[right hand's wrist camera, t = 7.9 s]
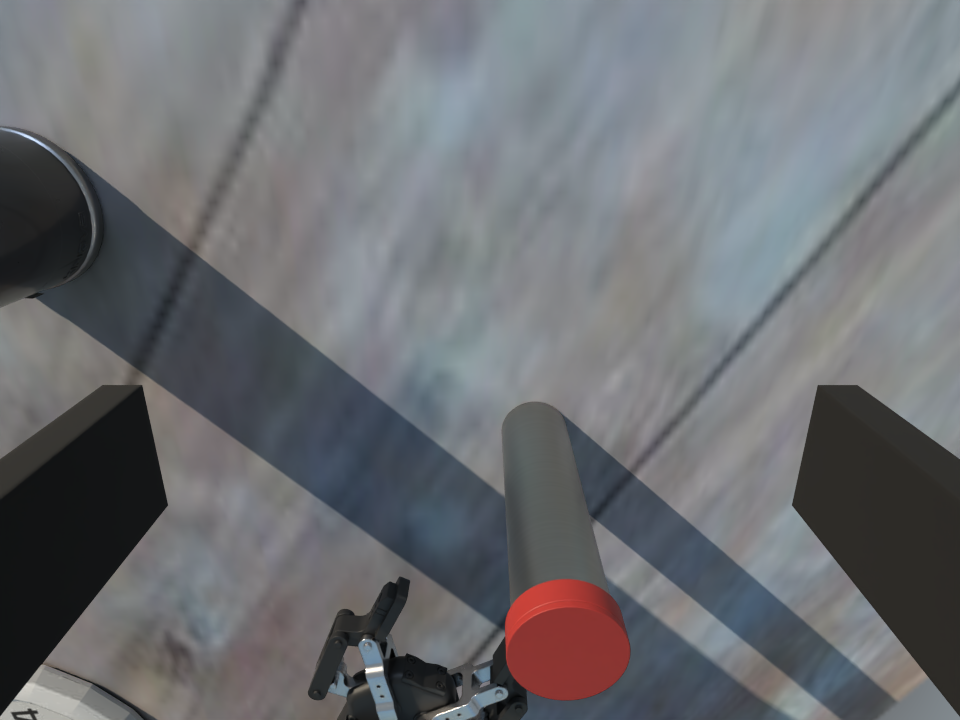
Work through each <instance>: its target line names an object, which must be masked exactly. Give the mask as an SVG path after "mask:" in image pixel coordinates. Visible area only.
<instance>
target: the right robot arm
mask: <svg viewBox="0 0 960 720" xmlns="http://www.w3.org/2000/svg"><path fill="white" fill-rule="evenodd" d="M167 506H168V503H167V498H166V494H165V489H164V485H163V480H162V475H161V471H160V466H159V461H158V457H157V452H156V447H155V443H154V438H153V433H152V429H151V424H150V420H149V415H148V410H147V406H146V401H145V396H144V392H143V387H142V385H102V386H101V387H100V388H98V389H97V390H95V391H94V392H93V393H91V394H90V395H88V396H87V397H86V398H84V399H83V400H82V401H80V402H79V403H77V404H76V405H75V406H73V407H72V408H71V409H69V410H68V411H66V412H65V413H64V414H62V415H61V416H59V417H58V418H57V419H55V420H54V421H53V422H51V423H50V424H48V425H47V426H46V427H44V428H43V429H41V430H40V431H39V432H37V433H36V434H35V435H33V436H32V437H30V438H29V439H28V440H26V441H25V442H24V443H22V444H21V445H19V446H18V447H17V448H15V449H14V450H12V451H11V452H10V453H8V454H7V455H6V456H4V457H3V458H1V459H0V716H1V715H2V714H3V712H4V711H5V710H6V709H7V707H8V706H9V705H10V704H11V702H12V701H13V700H14V699H15V697H16V696H17V695H18V693H19V692H20V691H21V690H22V688H23V687H24V686H25V685H26V683H27V682H28V681H29V680H30V678H31V677H32V676H33V675H34V673H35V672H36V671H37V670H38V668H39V667H40V666H41V665H42V663H43V662H44V661H45V659H46V658H47V657H48V656H49V654H50V653H51V652H52V651H53V649H54V648H55V647H56V646H57V644H58V643H59V642H60V641H61V639H62V638H63V637H64V636H65V634H66V633H67V632H68V631H69V629H70V628H71V627H72V625H73V624H74V623H75V622H76V620H77V619H78V618H79V617H80V615H81V614H82V613H83V612H84V610H85V609H86V608H87V607H88V605H89V604H90V603H91V602H92V600H93V599H94V598H95V597H96V595H97V594H98V593H99V591H100V590H101V589H102V588H103V586H104V585H105V584H106V583H107V581H108V580H109V579H110V578H111V576H112V575H113V574H114V573H115V571H116V570H117V569H118V568H119V566H120V565H121V564H122V563H123V561H124V560H125V559H126V557H127V556H128V555H129V554H130V552H131V551H132V550H133V549H134V547H135V546H136V545H137V544H138V542H139V541H140V540H141V539H142V537H143V536H144V535H145V534H146V532H147V531H148V530H149V529H150V527H151V526H152V525H153V523H154V522H155V521H156V520H157V518H158V517H159V516H160V515H161V513H162V512H163V511H164V510H165V508H166V507H167ZM792 506H793V507H794V508H795V510H796V511H797V512H798V513H799V515H800V516H801V517H802V518H803V520H804V521H805V522H806V523H807V525H808V526H809V527H810V529H811V530H812V531H813V532H814V534H815V535H816V536H817V537H818V539H819V540H820V541H821V542H822V544H823V545H824V546H825V547H826V549H827V550H828V551H829V552H830V554H831V555H832V556H833V557H834V559H835V560H836V561H837V563H838V564H839V565H840V566H841V568H842V569H843V570H844V571H845V573H846V574H847V575H848V576H849V578H850V579H851V580H852V581H853V583H854V584H855V585H856V586H857V588H858V589H859V590H860V591H861V593H862V594H863V595H864V597H865V598H866V599H867V600H868V602H869V603H870V604H871V605H872V607H873V608H874V609H875V610H876V612H877V613H878V614H879V615H880V617H881V618H882V619H883V620H884V622H885V623H886V624H887V625H888V627H889V628H890V629H891V631H892V632H893V633H894V634H895V636H896V637H897V638H898V639H899V641H900V642H901V643H902V644H903V646H904V647H905V648H906V649H907V651H908V652H909V653H910V654H911V656H912V657H913V658H914V659H915V661H916V662H917V663H918V665H919V666H920V667H921V668H922V670H923V671H924V672H925V673H926V675H927V676H928V677H929V678H930V680H931V681H932V682H933V683H934V685H935V686H936V687H937V688H938V690H939V691H940V692H941V693H942V695H943V696H944V697H945V698H946V700H947V701H948V702H949V703H950V705H951V706H952V707H953V709H954V710H955V711H956V712H957V714H958V715H959V716H960V459H959V458H957V457H956V456H954V455H953V454H952V453H950V452H949V451H948V450H946V449H945V448H943V447H942V446H941V445H939V444H938V443H936V442H935V441H934V440H932V439H931V438H930V437H928V436H927V435H925V434H924V433H923V432H921V431H920V430H919V429H917V428H916V427H914V426H913V425H912V424H910V423H909V422H907V421H906V420H905V419H903V418H902V417H901V416H899V415H898V414H896V413H895V412H894V411H892V410H891V409H889V408H888V407H887V406H885V405H884V404H883V403H881V402H880V401H878V400H877V399H876V398H874V397H873V396H872V395H870V394H869V393H867V392H866V391H865V390H863V389H862V388H860V387H859V386H858V385H818V387H817V392H816V396H815V401H814V406H813V410H812V415H811V420H810V424H809V429H808V433H807V438H806V443H805V447H804V452H803V457H802V461H801V466H800V471H799V475H798V480H797V485H796V489H795V494H794V498H793V503H792Z"/></svg>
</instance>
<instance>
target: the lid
mask: <svg viewBox="0 0 960 720" xmlns="http://www.w3.org/2000/svg"><path fill="white" fill-rule="evenodd" d="M505 639H506V660H507V665H508V668H509V670H510V672H511V674H512V676H513V677H514V678H515V680H516V681H517V682H518V683H519V684H520V685H521V686H522V687H524V688H525V689H527V690H528V691H530V692H532V693H534V694H536V695H538V696H541V697H545V698H548V699H554V700H578V699H583V698H587V697H591V696H594V695H596V694H598V693H601V692H602V691H604V690H606V689H608V688H609V687H610V686H612V685H613V684H614V683H615V682H616V681H618V679H619V678H620V677H621V676H622V675H623V673H624V672H625V670H626V668H627V666H628V663H629V659H630V643H629V639H628V636H627V632H626V628H625V625H624V621H623V617H622V613H621V610H620V608H619V606H618V604H617V603H616V601H615V600H614V599H613V598H612V597H611V596H610V595H609V594H608V593H607V592H606V591H605V590H603V589H601V588H600V587H598V586H596V585H594V584H591V583H588V582H585V581H581V580H574V579H558V580H552V581H547V582H544V583H541V584H538V585H536V586H534V587H532V588H530V589H528V590H527V591H525V592H524V593H523V594H522V595H520V596H519V597H518V598H517V599H516V600H515V602H514V603H513V604H512V606H511V608H510V610H509V612H508V614H507V617H506V622H505Z"/></svg>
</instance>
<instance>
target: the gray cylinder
mask: <svg viewBox="0 0 960 720" xmlns="http://www.w3.org/2000/svg"><path fill="white" fill-rule="evenodd" d="M502 447H503V467H504V487H505V506H506V526H507V546H508V565H509V585H510V605H511V606H512V604H513V603H514V602H515V600H516V599H517V598H518V597H519V596H520V595H522V594H523V593H524V592H525V591H527V590H528V589H530V588H532V587H534V586H536V585H538V584H541V583H544V582H547V581H552V580H558V579H574V580H581V581H585V582H588V583H591V584H594V585H596V586H598V587H600V588H601V589H603V590H605V591H606V592H607V593H608V594H609V590H608V586H607V582H606V578H605V574H604V570H603V566H602V562H601V559H600V555H599V551H598V547H597V543H596V539H595V535H594V531H593V527H592V524H591V520H590V516H589V512H588V508H587V504H586V500H585V496H584V492H583V488H582V485H581V481H580V477H579V473H578V469H577V465H576V461H575V457H574V453H573V450H572V446H571V442H570V438H569V434H568V430H567V426H566V422H565V420H564V418H563V416H562V415H561V413H560V412H559V411H558V410H557V409H555V408H554V407H552V406H550V405H548V404H545V403H541V402H529V403H525V404H522V405H520V406H518V407H516V408H515V409H513V410H512V411H511V412H510V413H509V414H508V415H507V417H506V418H505V420H504V422H503V426H502ZM609 595H610V594H609Z"/></svg>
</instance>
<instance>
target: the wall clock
mask: <svg viewBox="0 0 960 720" xmlns="http://www.w3.org/2000/svg"><path fill="white" fill-rule="evenodd" d="M0 720H144V719H143V718H142V717H140V716H139V715H138V714H137V713H136V712H135V711H134V710H133V709H132V708H130V707H129V706H127V705H126V704H124V703H122V702H121V701H119V700H118V699H116V698H114V697H113V696H111V695H110V694H108V693H106V692H105V691H103V690H102V689H100V688H98V687H97V686H95V685H94V684H92V683H89V682H87V681H84V680H82V679H79V678H76V677H74V676H71V675H69V674H66V673H64V672H61V671H59V670H56V669H54V668H51V667H49V666H46V665H41V666H40V667H39V668H38V670H37V671H36V672H35V673H34V675H33V676H32V677H31V678H30V680H29V681H28V682H27V683H26V685H25V686H24V687H23V688H22V690H21V691H20V692H19V693H18V695H17V696H16V697H15V699H14V700H13V701H12V702H11V704H10V705H9V706H8V707H7V709H6V710H5V711H4V712H3V714H2V715H1V716H0Z"/></svg>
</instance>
